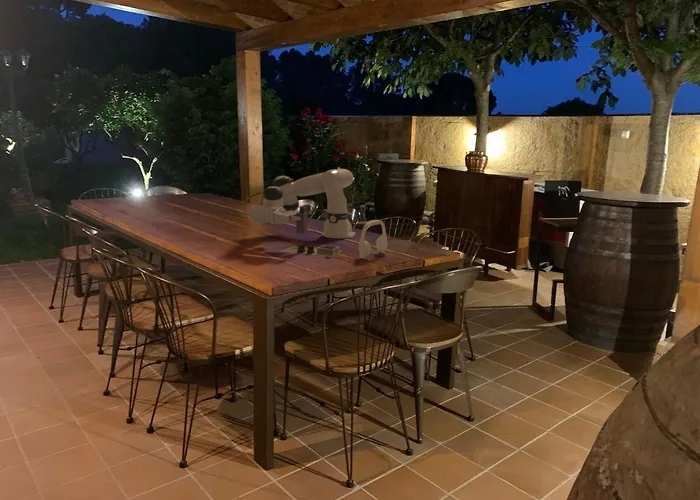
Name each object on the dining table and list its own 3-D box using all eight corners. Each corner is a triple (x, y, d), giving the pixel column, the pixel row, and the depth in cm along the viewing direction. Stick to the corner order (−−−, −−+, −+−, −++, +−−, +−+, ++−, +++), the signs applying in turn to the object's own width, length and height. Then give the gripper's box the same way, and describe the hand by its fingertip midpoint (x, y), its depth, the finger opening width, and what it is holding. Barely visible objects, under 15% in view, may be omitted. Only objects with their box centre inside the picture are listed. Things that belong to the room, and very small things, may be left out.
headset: (366, 260, 265) (368, 223, 262) (354, 258, 269) (355, 221, 266) (389, 253, 281) (391, 219, 277) (378, 251, 285) (379, 217, 281)
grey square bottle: (300, 231, 278) (300, 205, 275) (307, 232, 276) (307, 206, 273) (296, 232, 274) (296, 206, 271) (303, 233, 272) (303, 207, 270)
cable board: (294, 247, 291) (294, 238, 290) (342, 252, 282) (342, 243, 281) (280, 252, 277) (280, 243, 276) (330, 258, 267) (330, 249, 266)
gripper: (288, 219, 288) (312, 221, 283) (268, 224, 270) (294, 227, 265) (288, 207, 287) (313, 209, 282) (268, 211, 268) (294, 213, 263)
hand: (303, 217), depth 273 cm, fingers closed on grey square bottle, 4 cm apart
